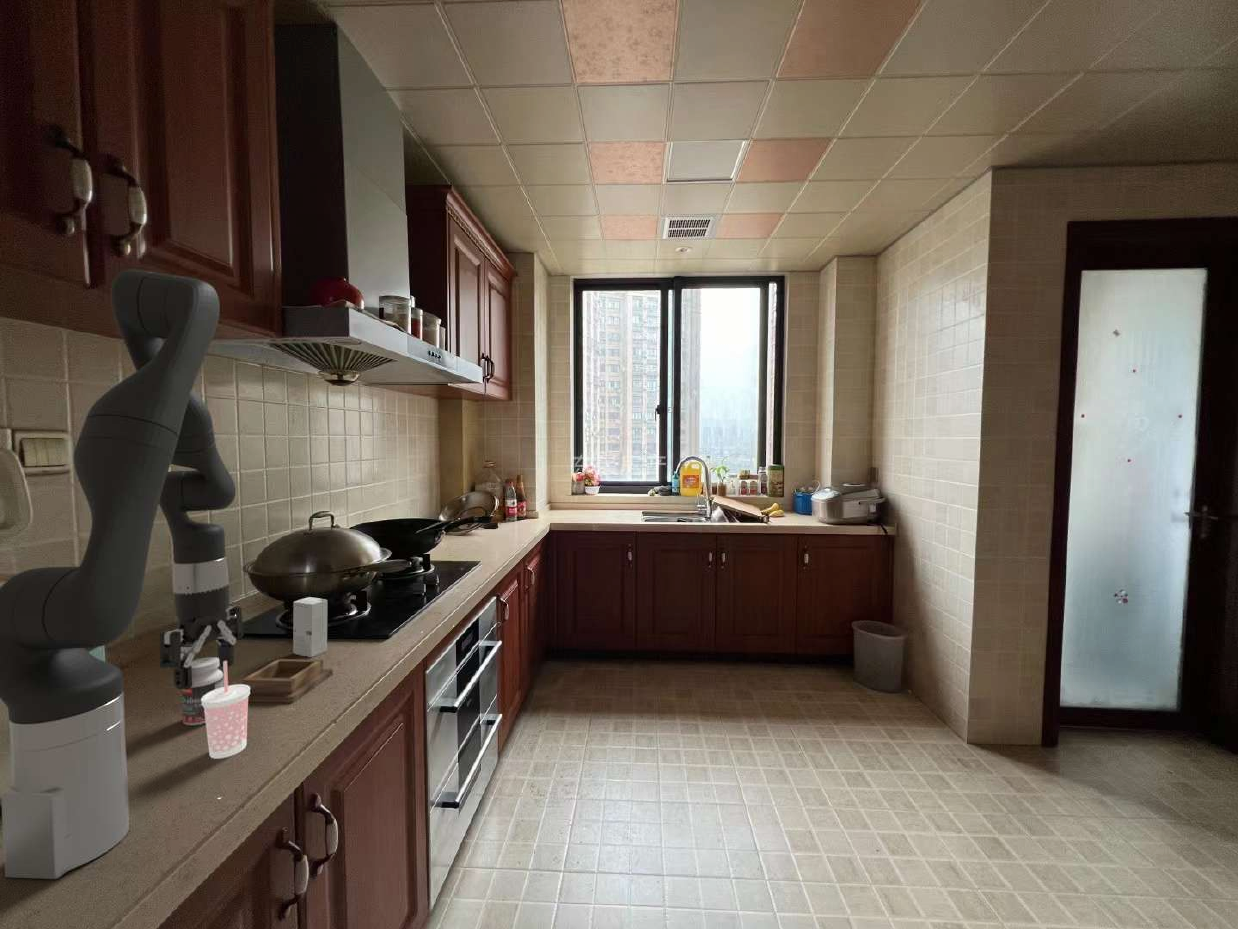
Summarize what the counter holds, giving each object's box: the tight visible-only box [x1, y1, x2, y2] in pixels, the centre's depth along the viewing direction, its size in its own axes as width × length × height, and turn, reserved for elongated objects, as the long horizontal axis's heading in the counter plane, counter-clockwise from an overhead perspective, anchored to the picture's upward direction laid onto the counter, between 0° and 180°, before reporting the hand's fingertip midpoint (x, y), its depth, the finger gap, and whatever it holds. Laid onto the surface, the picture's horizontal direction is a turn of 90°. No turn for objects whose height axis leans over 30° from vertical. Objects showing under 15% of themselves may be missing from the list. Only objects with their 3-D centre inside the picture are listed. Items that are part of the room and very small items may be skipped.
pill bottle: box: [181, 656, 224, 726], centre depth 91 cm, size 6×6×10 cm
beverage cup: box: [201, 661, 250, 759], centre depth 81 cm, size 6×6×14 cm
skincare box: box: [292, 596, 328, 658], centre depth 120 cm, size 6×4×12 cm
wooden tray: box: [241, 658, 334, 703], centre depth 103 cm, size 12×12×4 cm
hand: (206, 676), depth 92 cm, fingers open, 8 cm apart
